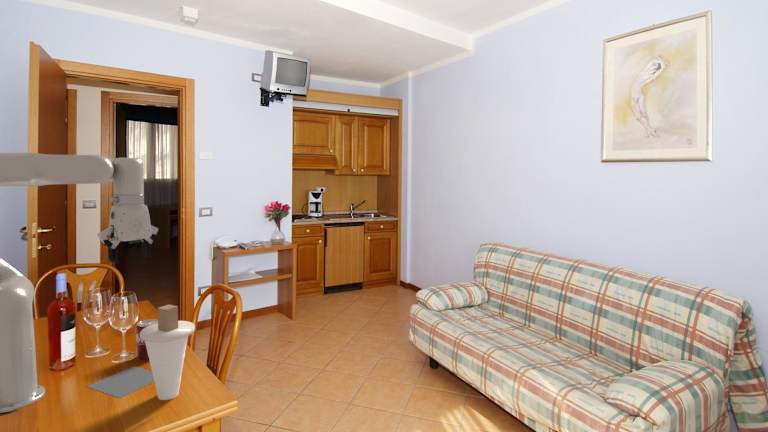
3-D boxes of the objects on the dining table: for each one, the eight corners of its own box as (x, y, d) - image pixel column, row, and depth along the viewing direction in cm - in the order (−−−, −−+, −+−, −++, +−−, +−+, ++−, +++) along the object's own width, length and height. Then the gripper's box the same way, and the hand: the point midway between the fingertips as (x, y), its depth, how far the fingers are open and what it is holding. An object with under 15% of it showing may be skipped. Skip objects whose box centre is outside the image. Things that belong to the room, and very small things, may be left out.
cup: (183, 383, 122) (182, 323, 120) (195, 398, 114) (193, 334, 112) (142, 395, 115) (139, 331, 113) (151, 412, 107) (148, 344, 105)
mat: (119, 400, 112) (119, 398, 112) (86, 388, 118) (86, 386, 118) (165, 377, 125) (165, 375, 125) (133, 368, 130) (133, 366, 130)
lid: (164, 345, 104) (163, 318, 104) (128, 336, 109) (128, 310, 109) (205, 328, 116) (205, 304, 115) (172, 321, 121) (171, 297, 121)
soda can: (151, 364, 133) (149, 327, 132) (131, 361, 135) (130, 325, 134) (167, 354, 140) (166, 319, 139) (148, 352, 142) (147, 317, 141)
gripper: (106, 202, 112) (108, 265, 114) (164, 200, 128) (165, 256, 129) (89, 201, 116) (91, 262, 117) (148, 199, 131) (149, 253, 133)
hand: (130, 259), depth 123 cm, fingers open, 9 cm apart
